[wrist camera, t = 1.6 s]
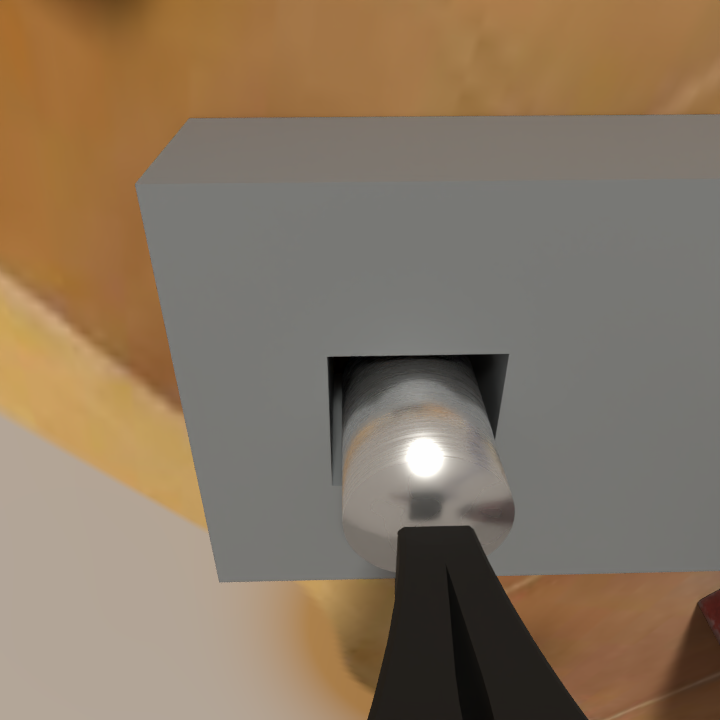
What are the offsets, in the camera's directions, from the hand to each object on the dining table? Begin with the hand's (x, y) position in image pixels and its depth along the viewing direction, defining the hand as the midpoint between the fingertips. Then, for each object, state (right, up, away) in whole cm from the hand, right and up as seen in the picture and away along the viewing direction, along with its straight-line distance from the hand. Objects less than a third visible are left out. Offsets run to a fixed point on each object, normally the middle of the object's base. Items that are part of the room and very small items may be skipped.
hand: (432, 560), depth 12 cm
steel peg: (0, +3, +5) cm, 6 cm away
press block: (+5, +5, +7) cm, 11 cm away
